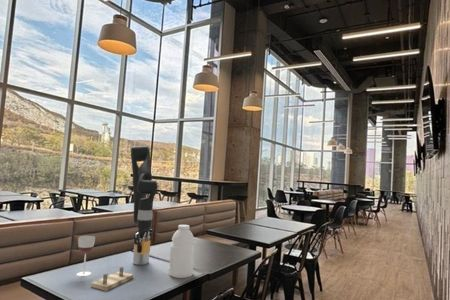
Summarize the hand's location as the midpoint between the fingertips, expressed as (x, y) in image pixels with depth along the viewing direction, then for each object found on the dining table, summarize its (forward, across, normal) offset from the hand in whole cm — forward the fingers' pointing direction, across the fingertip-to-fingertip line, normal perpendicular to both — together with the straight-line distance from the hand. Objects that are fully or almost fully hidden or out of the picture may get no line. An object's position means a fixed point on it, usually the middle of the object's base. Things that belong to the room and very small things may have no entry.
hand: (142, 251), depth 160 cm
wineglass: (+17, +2, -36) cm, 40 cm away
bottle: (+18, -25, +10) cm, 32 cm away
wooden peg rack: (+17, +4, -14) cm, 22 cm away
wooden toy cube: (+1, 0, 0) cm, 1 cm away
